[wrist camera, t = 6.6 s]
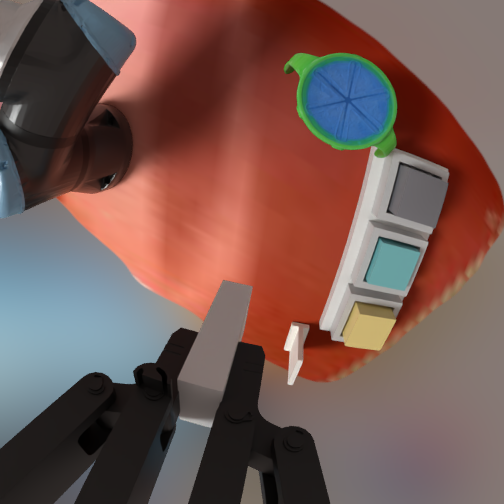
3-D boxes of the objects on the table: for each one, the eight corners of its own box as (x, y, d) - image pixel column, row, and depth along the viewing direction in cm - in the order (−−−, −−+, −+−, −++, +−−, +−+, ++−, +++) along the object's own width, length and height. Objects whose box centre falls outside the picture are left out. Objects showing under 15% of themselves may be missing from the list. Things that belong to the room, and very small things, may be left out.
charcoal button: (386, 207, 33) (396, 216, 29) (397, 164, 30) (409, 167, 26) (422, 218, 32) (435, 228, 29) (434, 177, 30) (448, 183, 26)
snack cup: (397, 132, 31) (429, 133, 22) (342, 176, 35) (359, 190, 26) (322, 47, 28) (331, 19, 19) (266, 91, 32) (256, 74, 23)
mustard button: (341, 329, 41) (344, 345, 37) (355, 298, 38) (359, 313, 35) (374, 334, 40) (379, 350, 37) (389, 304, 38) (396, 319, 34)
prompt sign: (284, 346, 48) (280, 383, 40) (292, 321, 46) (290, 358, 38) (300, 349, 48) (299, 386, 40) (309, 324, 46) (310, 362, 37)
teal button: (362, 270, 38) (367, 283, 34) (374, 232, 36) (382, 242, 32) (396, 277, 38) (404, 291, 34) (410, 241, 35) (420, 252, 31)
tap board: (319, 322, 45) (320, 341, 41) (372, 141, 33) (383, 142, 28) (380, 331, 44) (386, 350, 40) (442, 167, 32) (458, 172, 27)
